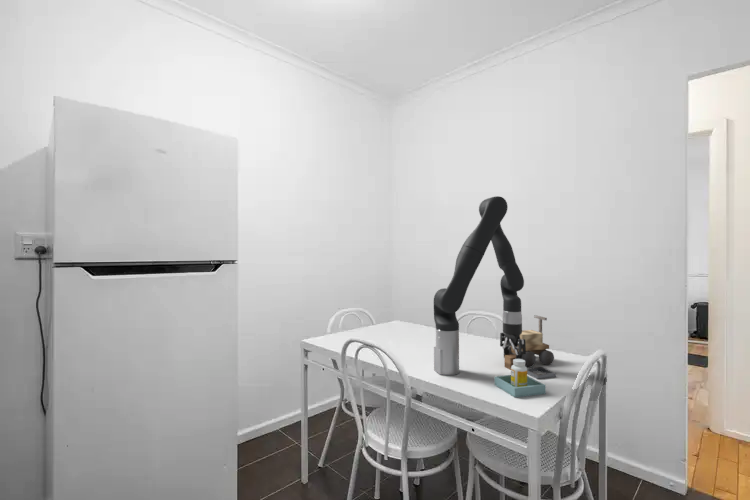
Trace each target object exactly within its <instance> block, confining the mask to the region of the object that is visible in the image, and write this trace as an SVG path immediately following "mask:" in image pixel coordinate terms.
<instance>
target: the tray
mask: <svg viewBox="0 0 750 500" xmlns="http://www.w3.org/2000/svg"><path fill="white" fill-rule="evenodd" d="M494 386H496V387H497V388H499V389H500V390H502V391H504V392H505V393H507V394H508V395H510V396H512V397H513V398H521V397H531V396H538V395H546V391H547V389H546V388H547V386H546V384H545V383H543V382H540V381H538V379H536V378H534V377H532V376H530V375H527V386H523V387H514V386H512V385H511V374H508V375H506V374H505V375H498V376H497V375H496V376H494Z"/></svg>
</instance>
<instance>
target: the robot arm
mask: <svg viewBox="0 0 750 500" xmlns="http://www.w3.org/2000/svg"><path fill="white" fill-rule="evenodd" d="M478 212H479V215H480V217H481V219H480V221H479V223H478V224H477V226H476V227H475V229H474V230H473V231H472V232H471V233H470V234H469V236H468V237H467V238H466V239H465V241H464V242H463V244H462V246H461V247H460V250H459V251H458V254H457V256H456V261H455V264H454V265H455V266H454V271H453V272H454V273H453V276H452V278H451V280H450V282H449V284H448V286H447V287H446V288H440V289H438V290H437V291H436V292H435V294H434V297H433V319H434V324H435V346H434V347H433V370H434V371H435V372H436V373H438V375H442V376H443V375H444V376H454V375H458V374H460V323H459V320H458V319H457V316H456V312H457V311H459V310H460V309H461V307H462V304H463V301H464V299H465V296H466V294H467V290H468V288H469V286H470V283H471V281H472V279H473V278H474V276H475V273H476V271H477V269H478V268H479V266H480V263H482V260H483V259H484V255H485V253H486V251H487V249H488V247H489V245H490V243H491V244H492V247H493V251H494V253H495V258H496V262H497V266H498V267H499V269H500V270H502V271H503V275H502V276H501V279H500V283H499V284H500V291H501V295H502V299H503V301H502V303H503V305H502V306H503V313H502V332H500V334H499V346H500V347H502V350H503V359H505V355H509V347H510V346H511V347H512V348H513V350H515V352H516V359H522V355H523V354H526V343H525V339H520V334H522V331H523V314H522V299H521V298H520V297H519V295H518V292H520V291H521V290H522V289H523V287H524V285H525V279H524V276H523V275H524V274H522V272H521V269H520V268H519V265H518V264H517V261H516V257H515V253H514V250H513V247H512V245H511V243H510V240H509V239H508V238H507V236H506V234H505V233H504V230H503V228H502V225H501V222H502V221H503V219H504V218H505V217H506V214H507V213H508V202H507V201H506V198H504V197H503V196H496V195H495V196H492V197H488V198H486V199H484V200H482V201H481V202H480V203H479V206H478ZM517 346H518V347H517ZM522 348H523V351H522ZM518 350H519V352H518Z"/></svg>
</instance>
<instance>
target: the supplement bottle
mask: <svg viewBox="0 0 750 500" xmlns="http://www.w3.org/2000/svg"><path fill="white" fill-rule="evenodd" d="M513 364H514V365H512V366H511V370H510V375H511V385H512V386H514V387H523V386H527V376H528V374H527V368H528V367H527V366H525V360H523V359H513Z"/></svg>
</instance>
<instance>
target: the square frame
mask: <svg viewBox="0 0 750 500" xmlns="http://www.w3.org/2000/svg"><path fill="white" fill-rule="evenodd" d="M539 372H542V373H539ZM527 376H529V377H531V378H533V379H535V380H542V379H551V378H557V374H556V372H555V371H552V370H549V369H547V368H544V367H543V366H537V367H536V366H535V367H527Z"/></svg>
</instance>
